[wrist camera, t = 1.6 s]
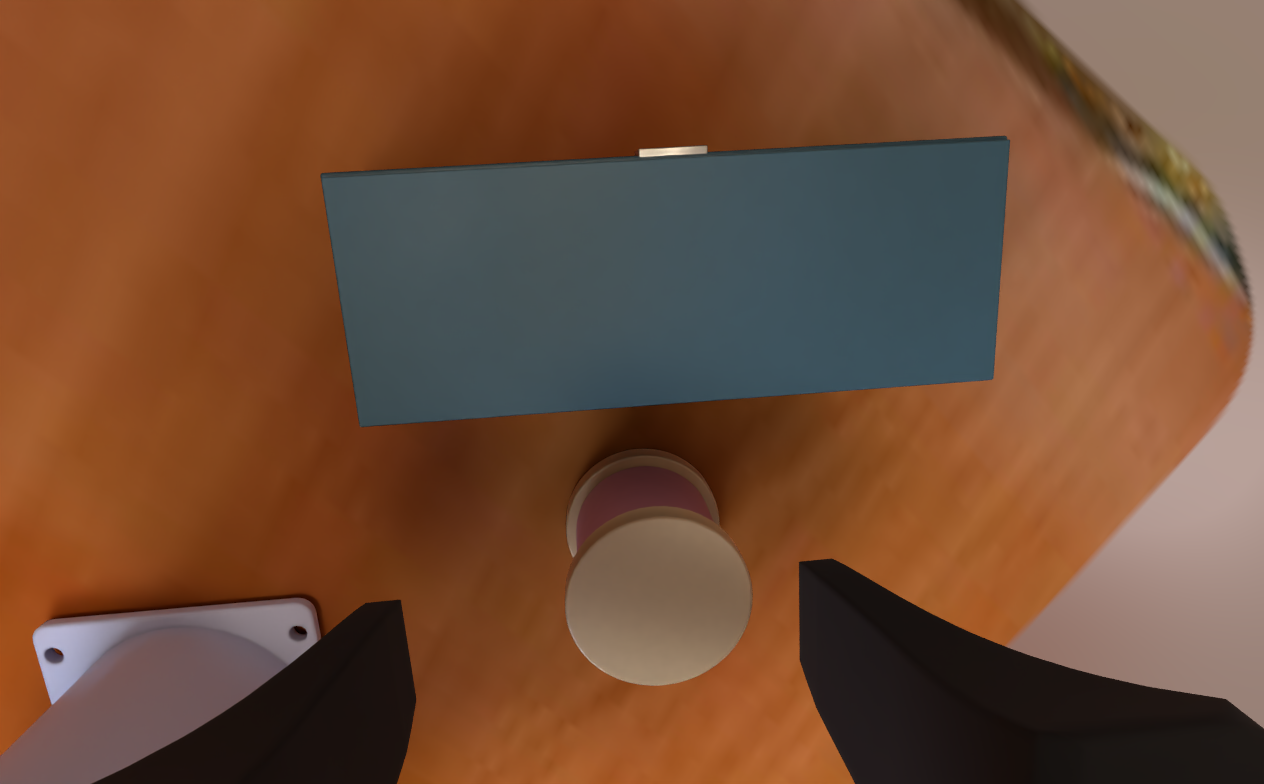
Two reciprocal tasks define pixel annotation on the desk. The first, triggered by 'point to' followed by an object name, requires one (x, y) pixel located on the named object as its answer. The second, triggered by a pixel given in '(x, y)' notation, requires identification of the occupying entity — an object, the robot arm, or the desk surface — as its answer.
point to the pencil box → (667, 276)
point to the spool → (652, 570)
